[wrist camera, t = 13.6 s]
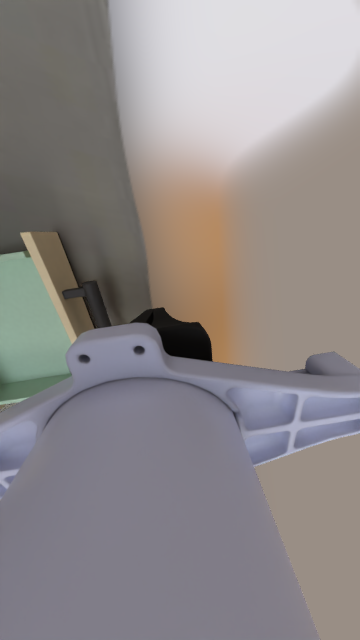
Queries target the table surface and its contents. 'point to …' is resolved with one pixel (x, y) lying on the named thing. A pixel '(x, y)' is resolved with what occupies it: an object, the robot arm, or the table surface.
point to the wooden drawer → (41, 316)
